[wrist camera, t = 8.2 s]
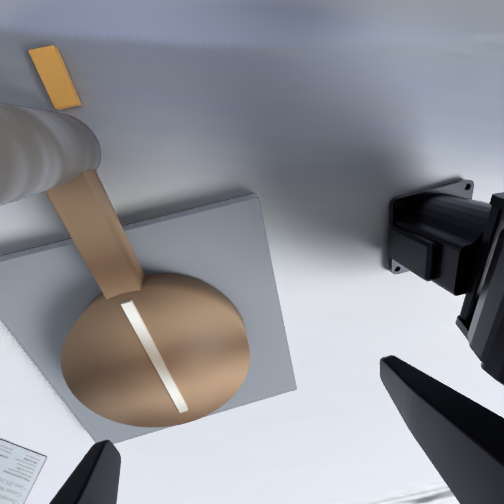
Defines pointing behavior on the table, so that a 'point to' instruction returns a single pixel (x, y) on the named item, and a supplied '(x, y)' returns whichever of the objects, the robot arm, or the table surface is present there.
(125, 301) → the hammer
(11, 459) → the light bulb box
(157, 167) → the table surface
